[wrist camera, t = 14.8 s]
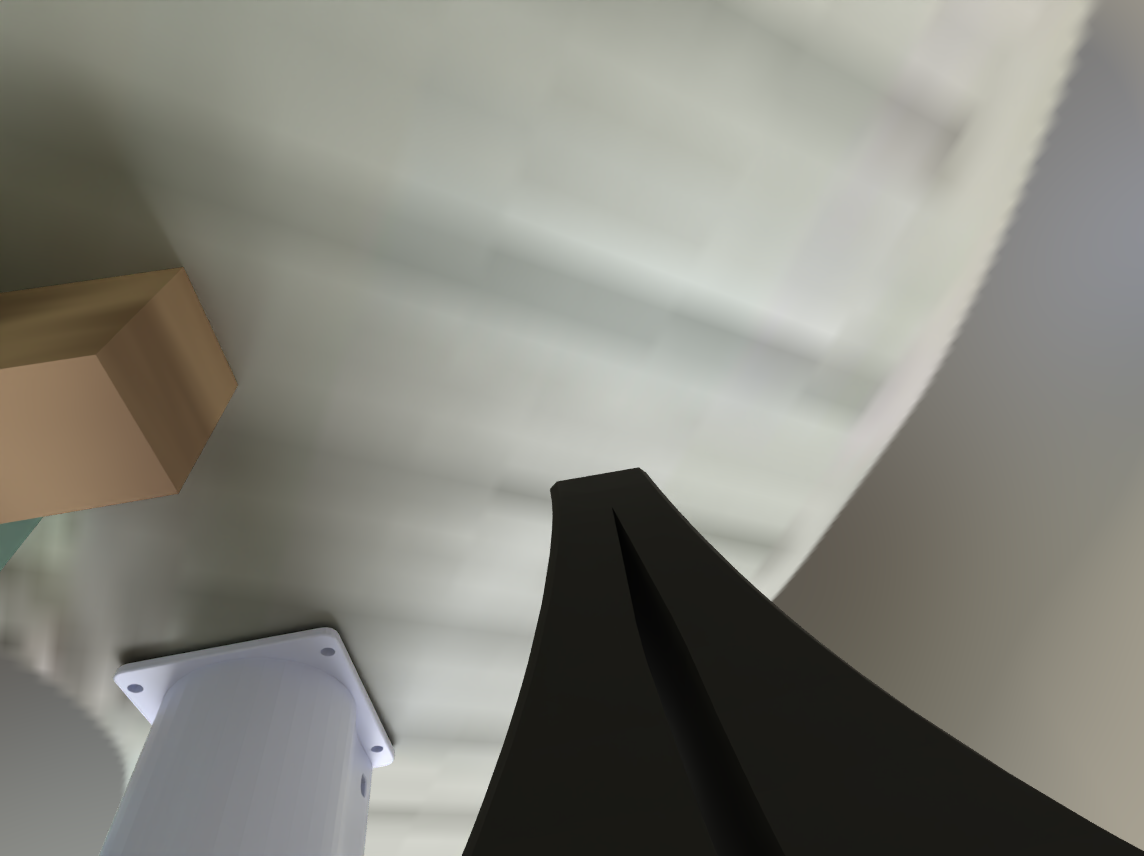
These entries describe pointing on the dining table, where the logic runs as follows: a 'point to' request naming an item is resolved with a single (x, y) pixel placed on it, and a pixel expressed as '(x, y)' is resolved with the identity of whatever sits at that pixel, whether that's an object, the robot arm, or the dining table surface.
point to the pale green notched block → (14, 537)
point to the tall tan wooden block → (105, 392)
